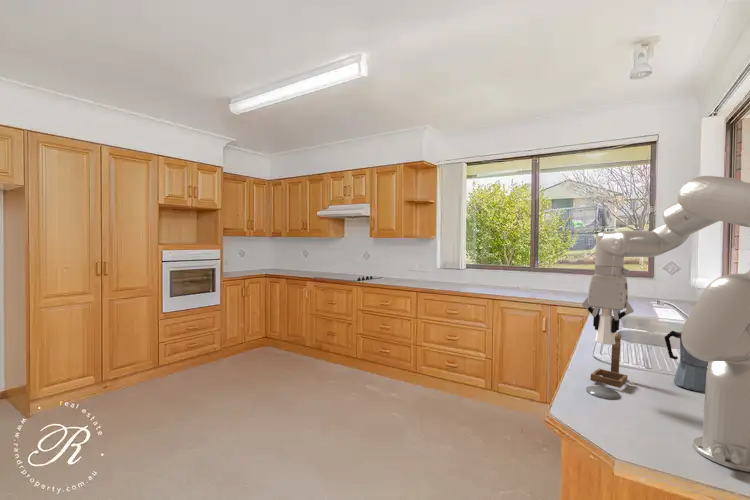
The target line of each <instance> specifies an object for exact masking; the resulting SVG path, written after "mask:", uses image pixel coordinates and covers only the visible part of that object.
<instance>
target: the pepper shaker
mask: <svg viewBox="0 0 750 500" xmlns="http://www.w3.org/2000/svg"><path fill="white" fill-rule="evenodd" d="M612 313H613V310H612V309H605V308H601V314H600V313H599V315H600V316H599V324H598V330H596V334H595V342H596V343H597V344H602V345H607V346H608V345H611V346H612V344H615V333H616V332H615V333H612V332H611V331H612V320H613V319H614V315H613V314H612Z"/></svg>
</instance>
